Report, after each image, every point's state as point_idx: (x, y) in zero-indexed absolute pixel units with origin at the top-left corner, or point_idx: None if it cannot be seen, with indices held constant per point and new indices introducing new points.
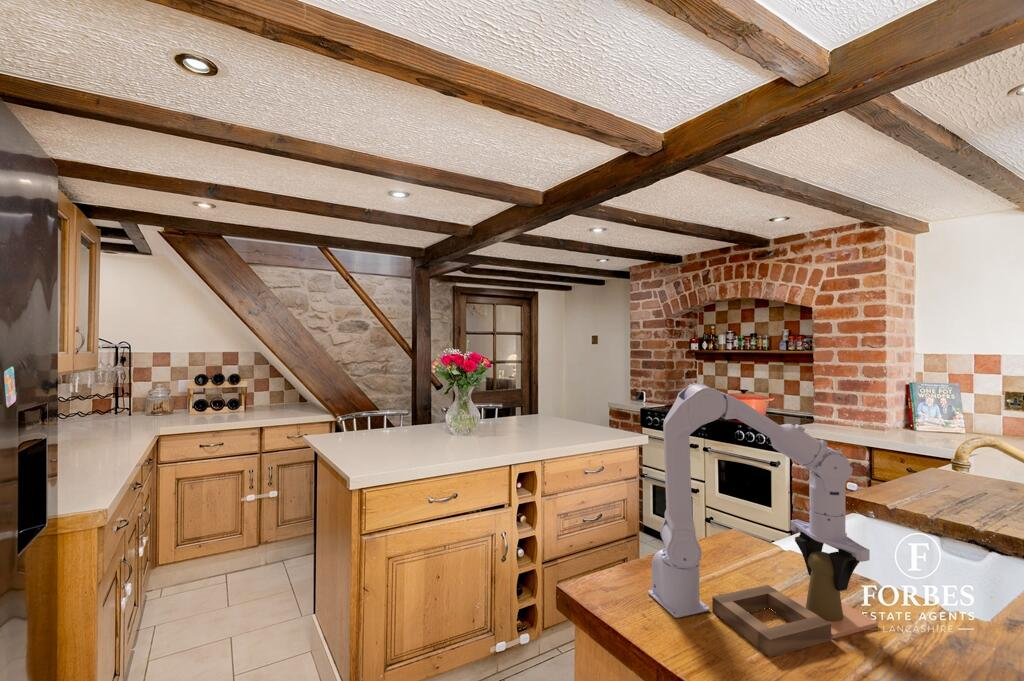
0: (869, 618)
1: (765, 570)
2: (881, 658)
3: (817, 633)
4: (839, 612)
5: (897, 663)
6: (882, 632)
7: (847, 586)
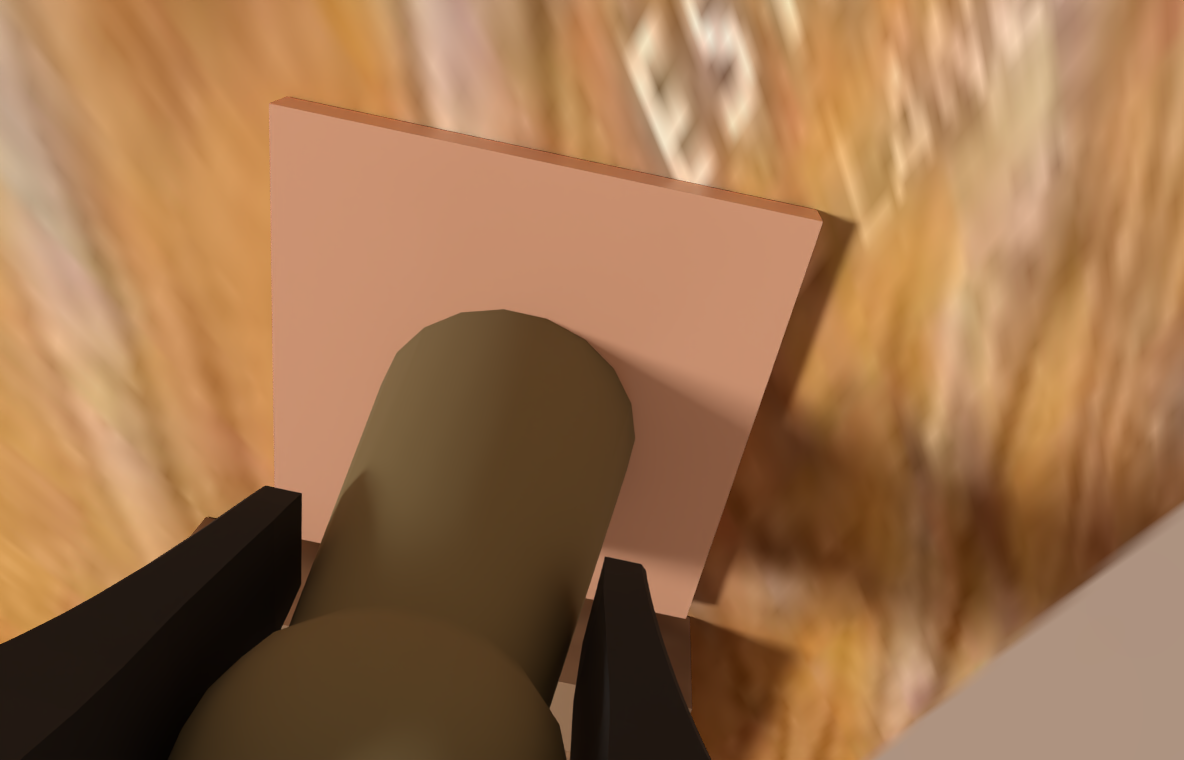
0: (752, 215)
1: None
2: (951, 561)
3: None
4: (622, 478)
5: (1036, 538)
6: (868, 261)
7: (649, 591)
